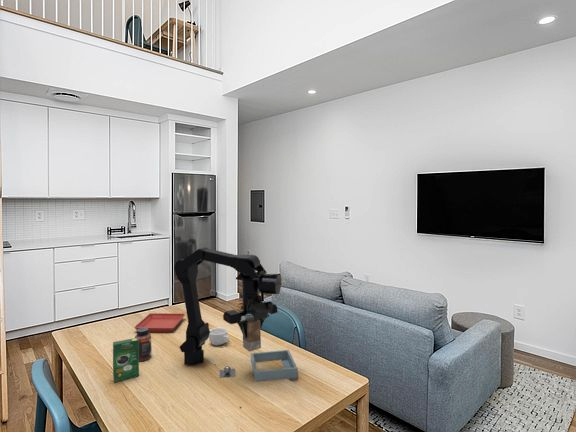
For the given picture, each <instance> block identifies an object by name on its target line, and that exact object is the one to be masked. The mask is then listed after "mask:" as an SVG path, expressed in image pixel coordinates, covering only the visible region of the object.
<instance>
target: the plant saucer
mask: <svg viewBox="0 0 576 432" xmlns="http://www.w3.org/2000/svg"><path fill="white" fill-rule="evenodd" d="M185 316H186V313H168V312H166V313H161V312H160V313H158V312H156V313H152V312H151V313H148V315H146V316H144V318H143V319H142V320H140V321H139V322H138V323H137V324H136V325H135V326H134V329H135V330H136V331H137V330H138V329H140V328H148V333H172V332H173V331H174V330H175V328H176V327H177V326H178V325H179V323H181V321H182V320H183V319H184V317H185Z"/></svg>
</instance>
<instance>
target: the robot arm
mask: <svg viewBox="0 0 576 432" xmlns="http://www.w3.org/2000/svg"><path fill="white" fill-rule="evenodd" d="M260 260H261V259H259V256H257V255H255V254H234V253H229V252H224V251H220V250H216V249H211V248H208V247H206V246H205V247H201V248H198V249H196V250H195V251H194V252H193V253H191V254H190V255H188V256H186V257H184V258H181V259H179V260H177V261H175V264H174V266H173V270H174V272H175V276H176V279H177V280H178V281H179V283H180V284H181V287H182V291H183V298H184V299H183V300H184V304H185V306H184V307H185V309H186V310H185V311H186V316H187V326H186V330H185V341H183V343H182V344H180V345H179V349H180V352H181V353H183V356H184V357H183V358H184V359H183V360H184V365H187V366H190V367H191V366H197V365H199V364H200V365H201V364H203V363H204V361H205V357H204V356H205V352H204V351H205V350H204V349H203V346H204V345H205V344H206V341H208V339H209V333H210V331H209V330H210V327H209V326H210V324H209V322H205V321H204V320H203V319H202V318H203V317H202V312H201V306H200V300H199V295H198V288H197V282H196V281H197V277H198V273H199V265H201V264H202V263H203V262H204V261H205V262H210V263H214V264H218V265H223V266H227V267H230V268H232V269H234V270H235V271H236V272H238V273H239V274H238V276H236V277H235V280H239V281H241V292H242V293H241V294H240V298H241V299H242V300H241V301H242V305H241V306H240V310H241V311H238V310H235V309H231V310H226V311H224V313H223V314H222V316H223V317H222V319H223V321H225V322H227V324H229V325H235V324H237V325H238V327H239V329H240V332H241V333H242V337H243V336H244V338H245V339H246V338H247V323H248V321H247V320H246V319H245V318H246V317H248V316H249V317H250V316H252V317H254V318H255V319H256V320H260V331H261V330H262V326H263V324H264V321H266V319H267V318H269V317H270V315H274V314H278V311H279V310H278V306H277V304H275V303H274V302H272V301H271V300H270V301H269V300H268V301H263V300H262V295H260V293H261V294H265V295H266V294H267V295H279V294H280V292H281V287H282V283H281V278H280V277H279V273H268V272H267V271H266V270H265V268H264V267H263V265H262V263H261V261H260ZM269 314H270V315H269Z"/></svg>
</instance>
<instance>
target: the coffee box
mask: <svg viewBox="0 0 576 432" xmlns="http://www.w3.org/2000/svg"><path fill="white" fill-rule="evenodd" d="M138 376H140V361H139V340H138V339H137V338H135V337H133V338H128V339H127V338H126V339H122V340H117V341H113V342H112V377H113V382H114V383H116V382H121V381H123V380H128V379H131V378H135V377H138Z"/></svg>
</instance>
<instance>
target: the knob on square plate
mask: <svg viewBox="0 0 576 432" xmlns="http://www.w3.org/2000/svg"><path fill="white" fill-rule="evenodd" d="M236 373H237V372H236V369H235V368H231V366H229V365H227V366H225V367H224V368H223V369H219V379H224V378H225V379H227V378H235V377H236V375H237V374H236Z"/></svg>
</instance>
